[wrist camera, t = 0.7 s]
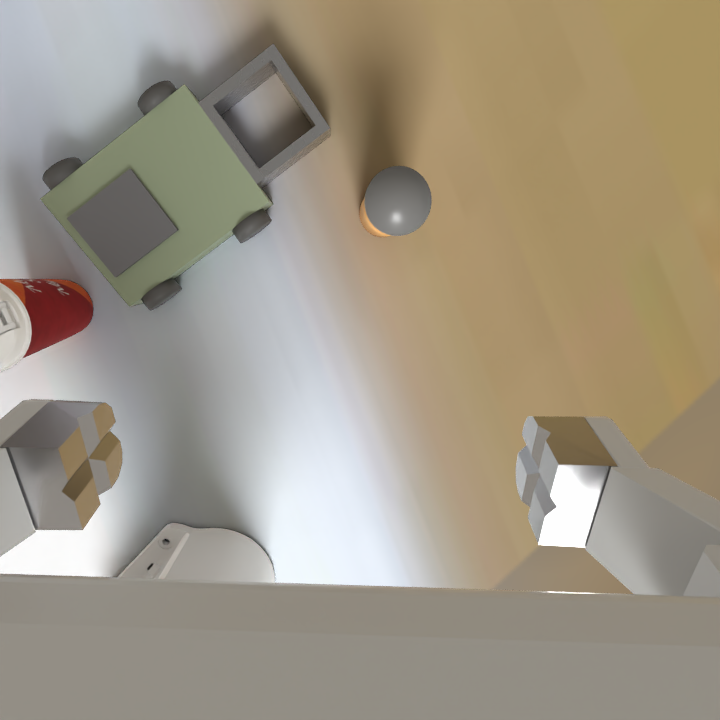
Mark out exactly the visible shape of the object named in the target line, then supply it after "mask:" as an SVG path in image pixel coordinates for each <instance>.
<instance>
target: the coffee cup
mask: <svg viewBox="0 0 720 720" xmlns="http://www.w3.org/2000/svg"><path fill="white" fill-rule="evenodd" d="M92 316H93V304H92V301H91V298H90V296H89V295H88V293H87V292H86V291H85V290H84V289H83V288H82V287H81V286H80V285H78V284H76V283H74V282H71V281H68V280H59V279H0V372H2V371H5V370H7V369H10V368H11V367H13V366H14V365H16V364H17V363H18V362H19V361H20V360H21V359H22V358H24V357H26V356H29V355H31V354H33V353H35V352H38V351H40V350H42V349H44V348H46V347H49V346H51V345H53V344H55V343H57V342H60V341H62V340H64V339H66V338H68V337H70V336H72V335H74V334H76V333H78V332H80V331H82V330H83V329H84V328H86V327H87V325H88V324H89V323H90V321H91V319H92Z"/></svg>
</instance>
